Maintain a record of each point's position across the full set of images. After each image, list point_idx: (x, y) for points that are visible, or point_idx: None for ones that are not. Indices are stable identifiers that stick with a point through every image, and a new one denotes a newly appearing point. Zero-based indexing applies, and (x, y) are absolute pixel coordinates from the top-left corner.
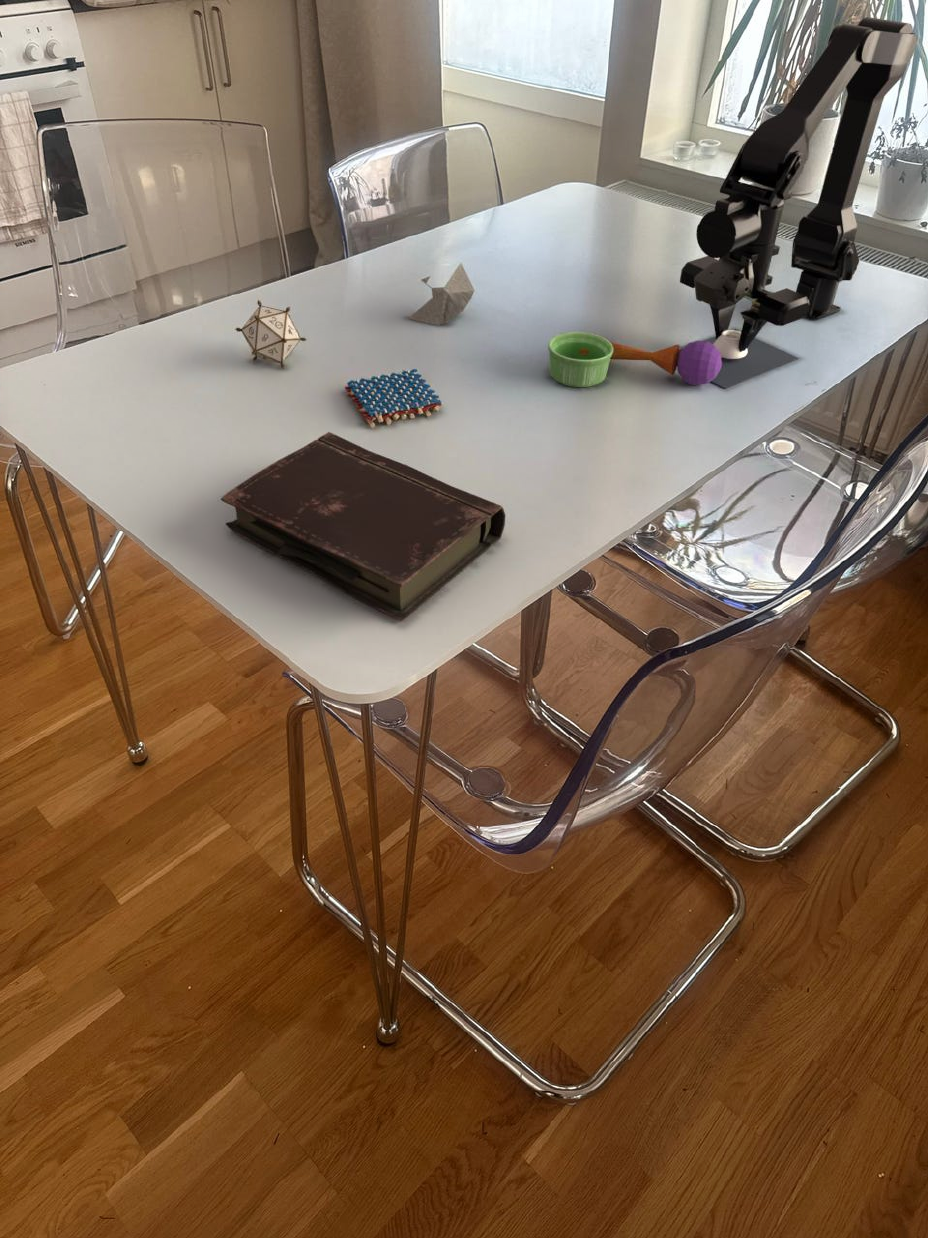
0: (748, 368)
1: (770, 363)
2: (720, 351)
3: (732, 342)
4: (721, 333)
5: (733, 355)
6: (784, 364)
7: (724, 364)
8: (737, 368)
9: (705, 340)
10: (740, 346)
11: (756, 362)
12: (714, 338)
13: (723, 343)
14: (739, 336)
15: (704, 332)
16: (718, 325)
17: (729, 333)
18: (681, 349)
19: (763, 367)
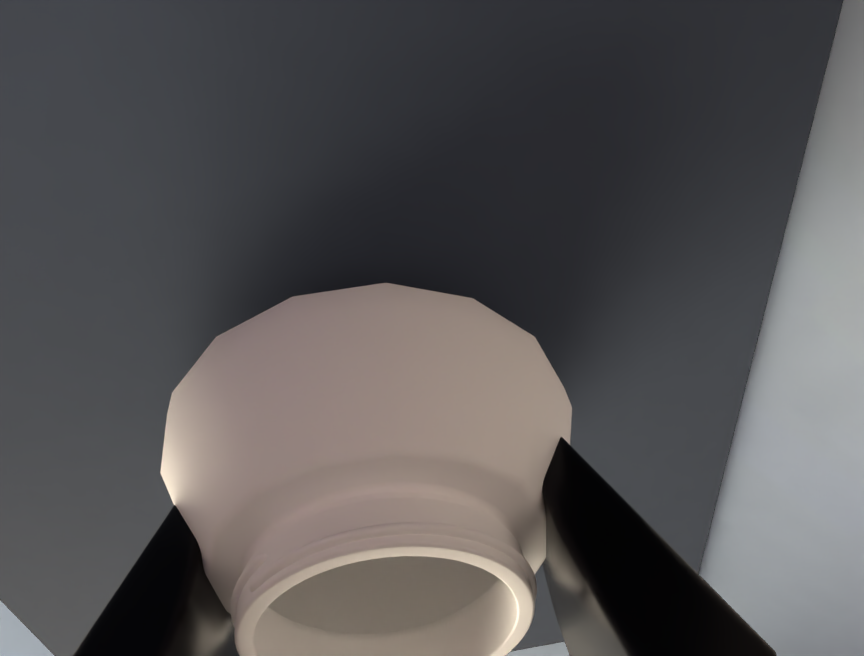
0: (13, 421)
1: (81, 590)
2: (316, 341)
3: (263, 542)
4: (551, 545)
5: (170, 417)
6: (53, 645)
7: (183, 262)
8: (41, 332)
9: (736, 388)
10: (155, 564)
11: (134, 524)
12: (701, 462)
13: (342, 449)
14: (376, 644)
15: (835, 452)
16: (621, 626)
17: (491, 604)
18: (821, 20)
19: (9, 528)
